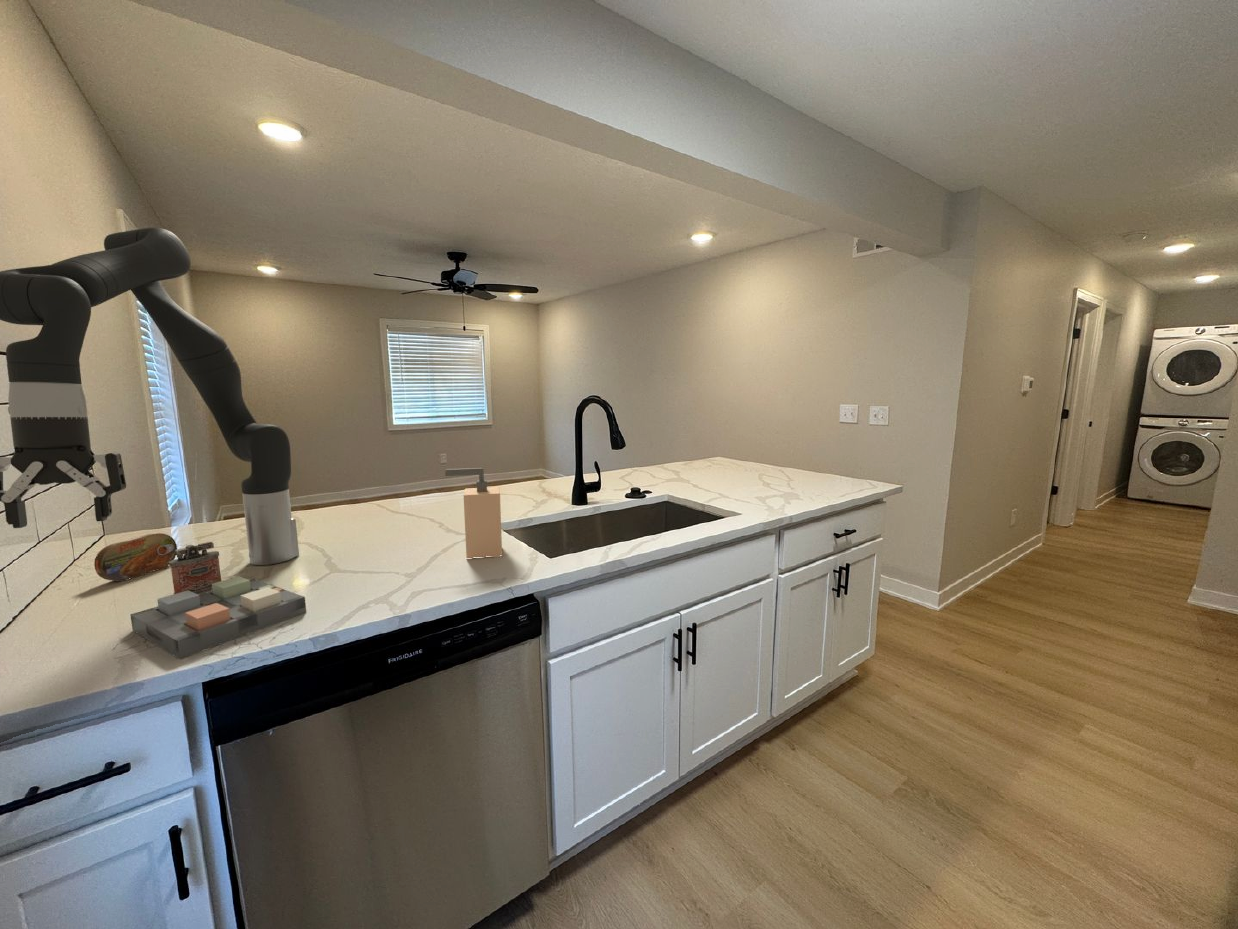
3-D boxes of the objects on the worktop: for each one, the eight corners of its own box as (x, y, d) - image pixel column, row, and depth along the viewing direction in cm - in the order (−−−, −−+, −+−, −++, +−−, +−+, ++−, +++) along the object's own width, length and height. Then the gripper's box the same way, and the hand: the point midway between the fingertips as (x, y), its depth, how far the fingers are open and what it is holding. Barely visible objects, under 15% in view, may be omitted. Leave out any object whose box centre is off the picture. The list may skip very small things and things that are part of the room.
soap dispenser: (501, 546, 133) (498, 465, 130) (502, 556, 125) (499, 470, 121) (450, 550, 130) (446, 466, 126) (448, 561, 122) (444, 472, 118)
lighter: (177, 600, 99) (170, 551, 98) (171, 596, 101) (164, 548, 99) (225, 586, 106) (220, 541, 104) (219, 583, 108) (213, 538, 106)
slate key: (189, 603, 92) (188, 590, 92) (200, 608, 90) (199, 595, 89) (159, 612, 88) (157, 599, 88) (169, 618, 86) (168, 604, 86)
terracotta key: (218, 616, 87) (216, 602, 86) (230, 622, 84) (229, 608, 84) (187, 626, 83) (185, 612, 82) (199, 633, 81) (197, 618, 80)
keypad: (255, 592, 103) (253, 577, 102) (306, 612, 94) (304, 596, 93) (132, 630, 86) (130, 613, 86) (179, 659, 77) (177, 639, 77)
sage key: (239, 588, 99) (238, 576, 98) (251, 592, 97) (249, 580, 96) (213, 596, 95) (211, 583, 95) (224, 601, 93) (222, 588, 92)
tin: (105, 587, 106) (99, 548, 104) (94, 586, 106) (88, 548, 105) (180, 563, 120) (175, 529, 119) (170, 562, 121) (165, 528, 120)
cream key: (268, 599, 93) (267, 587, 93) (281, 604, 91) (280, 591, 91) (242, 608, 90) (240, 595, 89) (254, 614, 88) (253, 600, 87)
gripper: (124, 415, 80) (134, 514, 82) (-9, 415, 73) (4, 524, 74) (108, 414, 74) (119, 523, 75) (-40, 414, 66) (-25, 534, 68)
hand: (62, 523), depth 75 cm, fingers open, 8 cm apart
